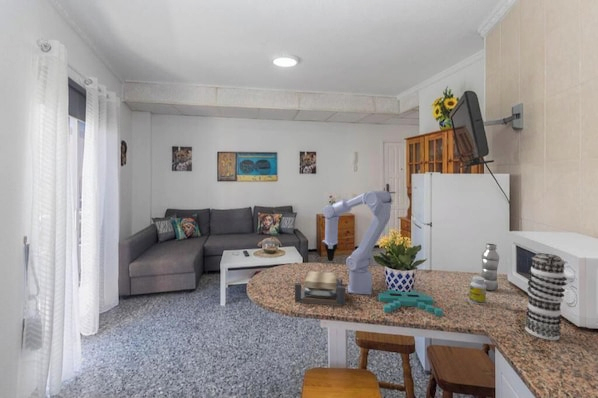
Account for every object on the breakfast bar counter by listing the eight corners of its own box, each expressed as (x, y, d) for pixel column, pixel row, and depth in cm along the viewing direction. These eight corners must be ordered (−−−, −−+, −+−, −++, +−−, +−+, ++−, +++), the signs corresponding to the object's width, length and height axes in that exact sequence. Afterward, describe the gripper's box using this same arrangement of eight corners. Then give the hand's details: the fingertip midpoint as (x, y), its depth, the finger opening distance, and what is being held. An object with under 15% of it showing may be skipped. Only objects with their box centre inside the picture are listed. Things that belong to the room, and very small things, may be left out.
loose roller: (304, 298, 113) (304, 287, 113) (305, 296, 117) (305, 285, 117) (335, 300, 111) (335, 289, 111) (335, 298, 115) (335, 288, 115)
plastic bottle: (494, 293, 123) (498, 247, 121) (476, 288, 128) (479, 244, 126) (499, 290, 127) (503, 245, 125) (482, 285, 132) (485, 242, 130)
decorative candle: (542, 341, 87) (549, 259, 85) (516, 325, 96) (522, 251, 94) (569, 340, 88) (577, 259, 86) (541, 324, 97) (547, 251, 95)
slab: (336, 278, 123) (336, 273, 123) (335, 289, 111) (336, 283, 111) (308, 276, 125) (308, 271, 125) (304, 287, 113) (305, 281, 113)
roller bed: (344, 279, 136) (344, 266, 136) (344, 305, 108) (345, 288, 108) (303, 276, 139) (304, 263, 138) (294, 301, 111) (295, 285, 111)
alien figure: (442, 317, 102) (423, 294, 122) (442, 311, 102) (424, 289, 122) (384, 313, 104) (375, 291, 124) (384, 307, 104) (375, 286, 124)
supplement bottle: (465, 300, 116) (467, 276, 115) (475, 298, 117) (477, 274, 117) (478, 305, 110) (480, 280, 110) (488, 303, 112) (490, 279, 112)
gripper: (323, 228, 141) (322, 255, 142) (321, 234, 127) (320, 264, 128) (338, 228, 140) (337, 256, 141) (337, 234, 126) (337, 265, 127)
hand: (330, 260), depth 134 cm, fingers closed
